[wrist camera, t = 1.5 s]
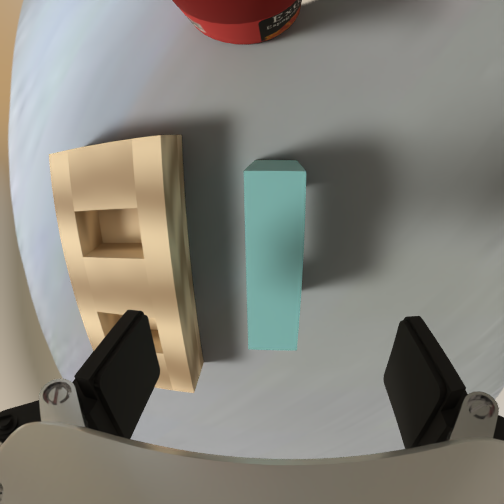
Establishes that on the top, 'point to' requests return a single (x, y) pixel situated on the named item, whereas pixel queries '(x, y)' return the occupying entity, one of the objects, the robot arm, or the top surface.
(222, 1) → the canned food
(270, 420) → the top surface
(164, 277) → the tan slotted block
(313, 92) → the top surface
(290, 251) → the teal long block
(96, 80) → the top surface
